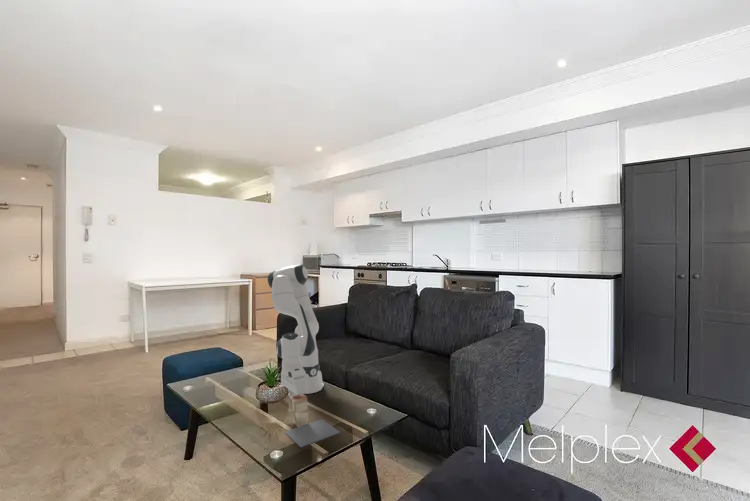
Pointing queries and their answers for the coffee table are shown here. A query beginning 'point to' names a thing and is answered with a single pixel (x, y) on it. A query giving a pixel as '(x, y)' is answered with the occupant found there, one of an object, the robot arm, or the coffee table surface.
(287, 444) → the coffee table surface
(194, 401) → the coffee table surface
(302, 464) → the coffee table surface
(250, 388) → the coffee table surface
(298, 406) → the birch block
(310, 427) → the rubber mat
